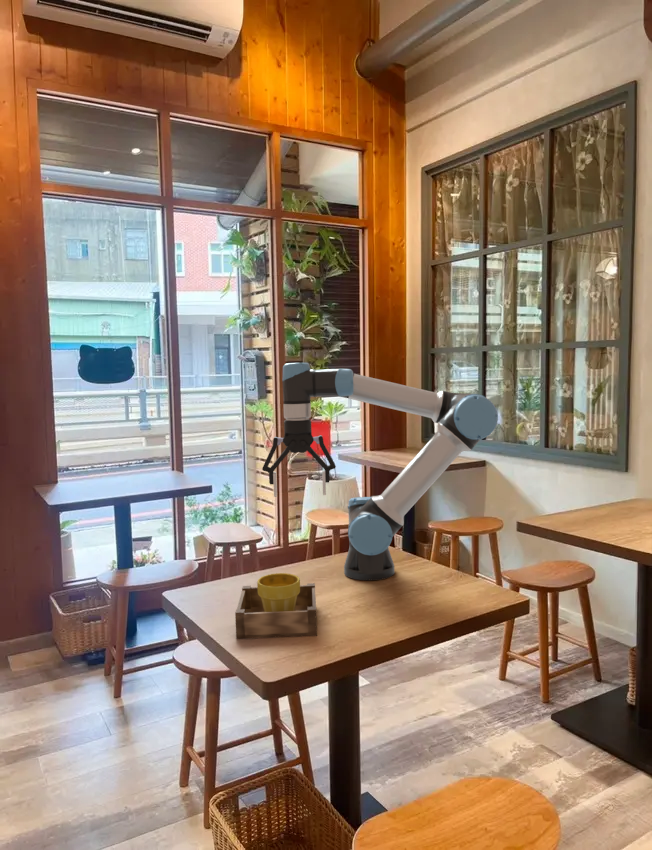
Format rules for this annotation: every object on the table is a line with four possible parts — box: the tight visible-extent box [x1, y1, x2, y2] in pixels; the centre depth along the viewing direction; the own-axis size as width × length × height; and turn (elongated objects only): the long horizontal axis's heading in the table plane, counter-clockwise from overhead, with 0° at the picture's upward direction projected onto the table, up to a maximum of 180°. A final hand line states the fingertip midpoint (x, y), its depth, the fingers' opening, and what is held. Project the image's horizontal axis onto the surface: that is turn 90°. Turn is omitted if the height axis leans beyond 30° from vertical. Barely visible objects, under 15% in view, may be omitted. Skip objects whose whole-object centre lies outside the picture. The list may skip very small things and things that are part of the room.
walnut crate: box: [234, 582, 318, 640], centre depth 158 cm, size 19×19×6 cm
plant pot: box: [256, 572, 301, 612], centre depth 158 cm, size 10×10×10 cm
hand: (299, 495), depth 179 cm, fingers open, 13 cm apart
